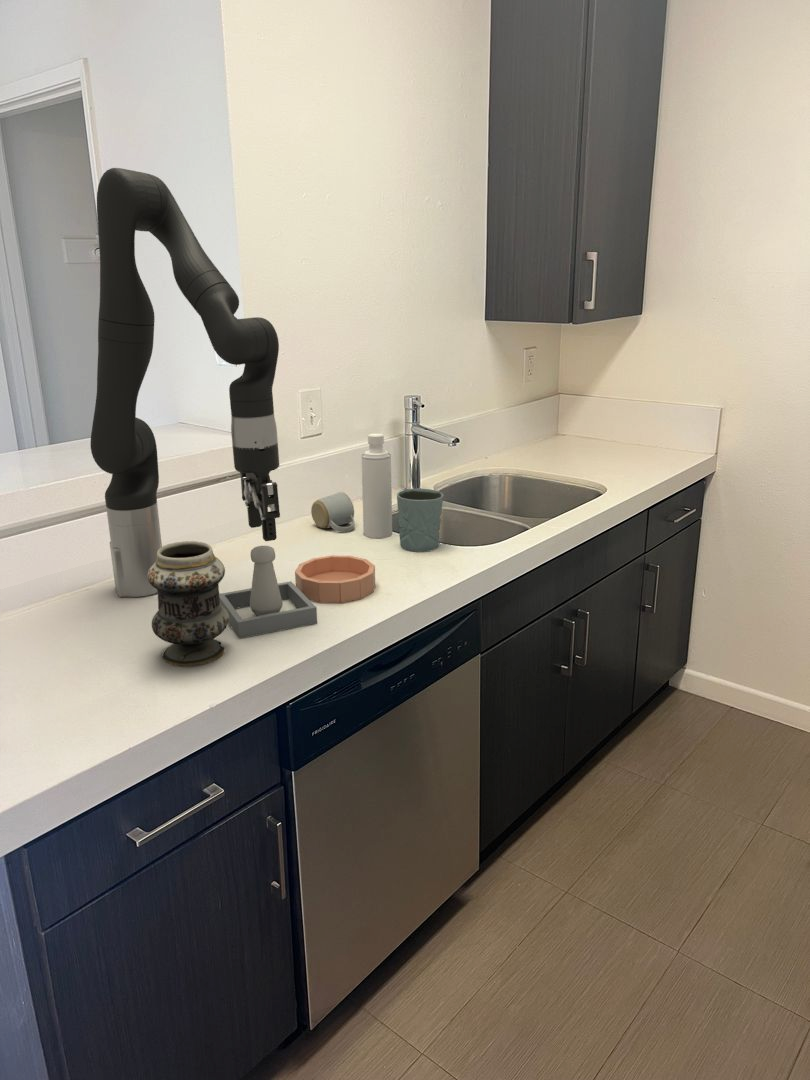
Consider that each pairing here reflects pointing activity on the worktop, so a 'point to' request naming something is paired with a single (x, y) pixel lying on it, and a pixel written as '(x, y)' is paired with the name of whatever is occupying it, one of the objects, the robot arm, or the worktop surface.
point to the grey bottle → (376, 489)
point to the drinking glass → (419, 519)
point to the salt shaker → (264, 582)
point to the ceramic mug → (334, 512)
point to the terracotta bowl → (335, 578)
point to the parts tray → (269, 622)
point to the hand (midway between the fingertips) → (262, 533)
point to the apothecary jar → (188, 603)
